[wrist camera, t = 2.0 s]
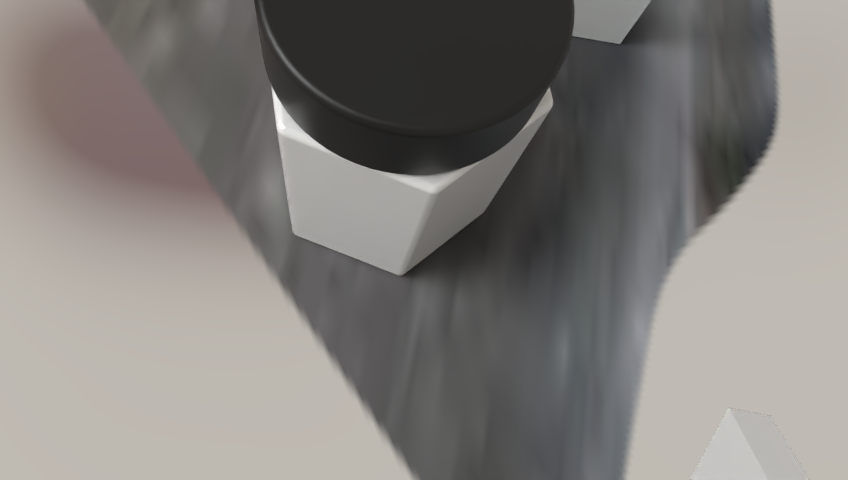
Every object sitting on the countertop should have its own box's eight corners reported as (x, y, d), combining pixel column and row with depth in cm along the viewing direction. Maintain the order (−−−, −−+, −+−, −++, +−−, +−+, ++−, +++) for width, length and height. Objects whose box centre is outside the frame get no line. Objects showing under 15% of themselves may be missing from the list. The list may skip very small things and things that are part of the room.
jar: (514, 128, 30) (628, -70, 19) (451, 301, 27) (540, 192, 16) (319, 51, 30) (315, -197, 18) (238, 218, 27) (176, 48, 16)
